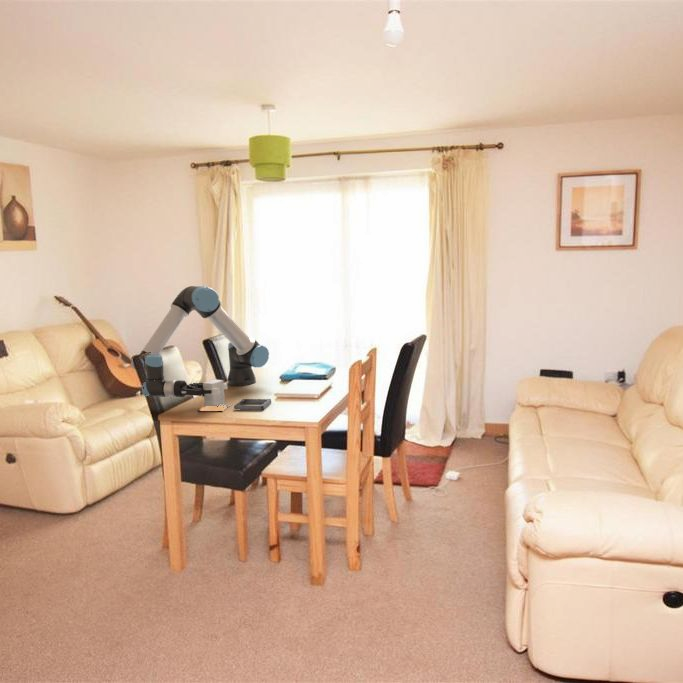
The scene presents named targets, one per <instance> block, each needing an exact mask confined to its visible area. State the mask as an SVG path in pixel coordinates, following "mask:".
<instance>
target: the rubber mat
mask: <svg viewBox="0 0 683 683" xmlns="http://www.w3.org/2000/svg"><path fill="white" fill-rule="evenodd" d="M223 404H224V405H226V407H228V406H229V405H231V404H232V403H222V404H221V405H223ZM219 405H220V404H219ZM219 405H218V406H219ZM221 405H220V406H221ZM224 405H223V406H224ZM218 406H217V407H218ZM231 406H232V405H231ZM223 408H224V407H223Z"/></svg>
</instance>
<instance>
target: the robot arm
mask: <svg viewBox="0 0 683 683" xmlns="http://www.w3.org/2000/svg"><path fill="white" fill-rule="evenodd" d="M192 311H195V312H197V313H198V314H199V316H201V318H202V319H207V320H208V321H209V322H210V323H211V324H213V326H214V327H215V328H216V329H217V330H218V331H219V332H220V333H221V334H222V335H223V336H224V337H225V339H227V340H228V341H229V343H228V347H227V348H228V349H227V351H228V359H229V360H228V361H229V362H228V363H229V372H228V376H227V378H226V379H227V382H223V383H224V390H228V389H229V388H228V385H229V386H237V387H238V386H247V385H248V386H249V385H251V384H255V383H256V382H257V379H256V375H255V372H254V371H253V368H254V369H255V368H262V367H264V366H265V365H266V364H267V363H268V361H269V358H270V357H269V355H270V352H269V348H268V347H267V346H265V345H263V344H260V343H259V342H258V341H257V340H256V338H254V337H251V336H249V335H248V334H247V333H246V332H244V330H243V328H241V327H240V326H239V325H238V324H237V322H235V321H234V319H232V317H231V315H229V314H228V313H227V312H226V310H225V309H223V307H222V301H220V297H219V294H218V292H217V291H216V290H215V289H213V288H211V287H209V286H206V285H201V286H199V285H197V286H195V285H190V286H187V287H185V288H183V289H182V290H181V291H180V292H179V294H177V296H176V297H175V298H174V299H173V301H172V303H171V304H170V309H169V310H168V312H167V314H166V315H165V317H164V318H163V319H162V321H161V323H160V324H159V326H158V327H157V329H156V330H155V332H154V333H153V334H152V335H151V337H150V338H149V340H148V342H147V343H146V344H145V345H144V347H143V349H142V350H141V351H140V353H139V354H138V355H142V354H145V353H148V352H151V353H149V354H150V355H147V356H146V357H145V362H144V370H145V371H146V373H145V374H146V381H147V383H146V382H144V381H143V382H144V383H143V382H142V384H143V385H142V384H141V386H142V387H141V392H142V394H143V396H145V397H147V396H149V395H153V396H156V397H155V398H163V397H164V398H169V399H172V398H175V397H176V398H184V397H186V396H193V397H195V396H197V397H203V398H204V396H205V395H219V394H220V392H219V388H205V390H204V389H203V383H204V382H193V383H189V384H187V381H185V380H173V379H172V380H168V379H167V380H165V375H164V372H165V371H164V360H163V356H162V354H161V352H162V351H163V349H164V348H165V346H166V345H167V343H168V342H169V340H170V339H171V337H172V336H173V335H174V333H175V332H176V330H177V329H178V327H179V326H180V324H181V322H182V321H183V320H184V318H186V317H189V315H190V313H191V312H192ZM130 364H131V368H132V369H133V370H135V371H137V370H136V368H135V365H134V362H133V358H132V359H131V362H130ZM252 367H253V368H252ZM154 380H155V381H154ZM143 387H144V389H143ZM145 394H146V395H145Z"/></svg>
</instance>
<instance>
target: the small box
mask: <svg viewBox="0 0 683 683" xmlns="http://www.w3.org/2000/svg"><path fill="white" fill-rule="evenodd" d="M202 383H203V389H204V390H205V388H219V392H220V394H219V395H205V396H204V397H203V401H204V406H217V405H219V404H225V403H226V400H225V399H226V398H225V396H226V395H225V389H224V383H225V382H224V379H215V378H214V379H211V380H207V381H204V382H202Z"/></svg>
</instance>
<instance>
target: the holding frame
mask: <svg viewBox="0 0 683 683" xmlns="http://www.w3.org/2000/svg"><path fill="white" fill-rule="evenodd" d="M245 403H247V404H245ZM251 404H252V405H251ZM271 404H272V399H271V398H242V399H241V400H240V401H238V402H237V403H236V404H235V405H233V408H234V409H240V410H239V411H251V410H263V411H265V410H266V409H267V408H268V407H269V406H270V405H271ZM234 409H233V410H234ZM264 409H265V410H264Z"/></svg>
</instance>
